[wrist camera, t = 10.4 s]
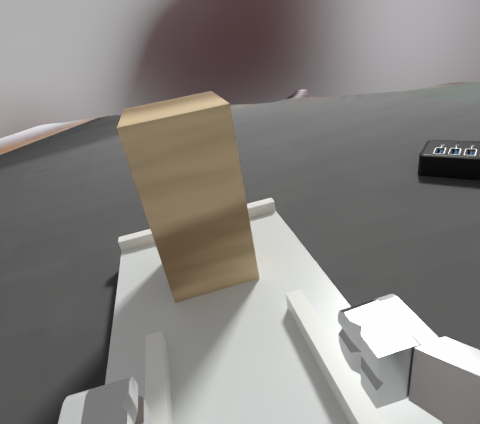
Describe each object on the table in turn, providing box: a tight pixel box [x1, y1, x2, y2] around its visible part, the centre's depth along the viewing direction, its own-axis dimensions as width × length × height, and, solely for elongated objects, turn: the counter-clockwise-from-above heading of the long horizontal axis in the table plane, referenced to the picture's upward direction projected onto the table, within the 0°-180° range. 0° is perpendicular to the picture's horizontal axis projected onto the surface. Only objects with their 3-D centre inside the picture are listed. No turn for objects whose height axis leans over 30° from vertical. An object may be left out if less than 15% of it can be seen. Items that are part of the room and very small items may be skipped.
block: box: [117, 91, 259, 303], centre depth 19 cm, size 5×5×10 cm
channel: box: [105, 198, 442, 424], centre depth 15 cm, size 28×12×2 cm, turn 14°
